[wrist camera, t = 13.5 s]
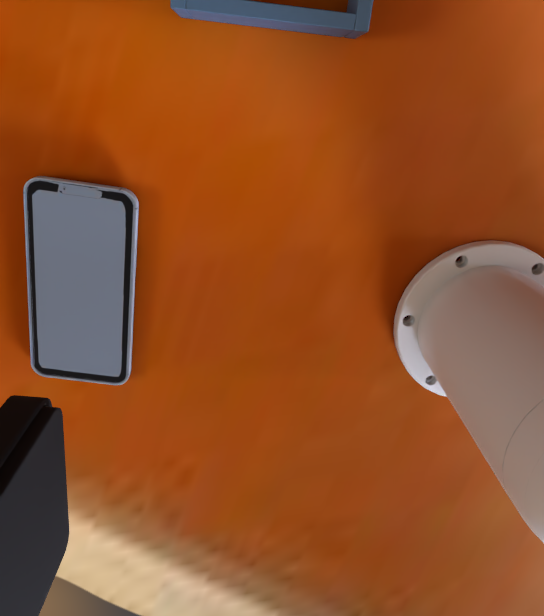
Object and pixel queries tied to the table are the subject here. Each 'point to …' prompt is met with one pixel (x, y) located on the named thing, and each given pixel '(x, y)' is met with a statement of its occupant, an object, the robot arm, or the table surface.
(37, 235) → the smartphone
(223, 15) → the rectangular frame
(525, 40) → the table surface
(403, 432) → the table surface
